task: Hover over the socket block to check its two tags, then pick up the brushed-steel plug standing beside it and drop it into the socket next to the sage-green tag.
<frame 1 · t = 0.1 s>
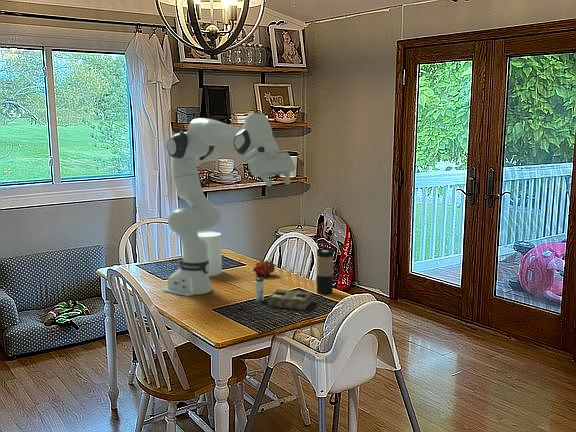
hand: (279, 184, 230), 54 cm above the table, tool tilted 30°, fingers open, 8 cm apart
socket block: (290, 303, 261), on the table
canister: (208, 272, 310), on the table
dragon fruit: (263, 276, 304), on the table
steel plug: (259, 300, 265), on the table
travel mug: (324, 293, 276), on the table
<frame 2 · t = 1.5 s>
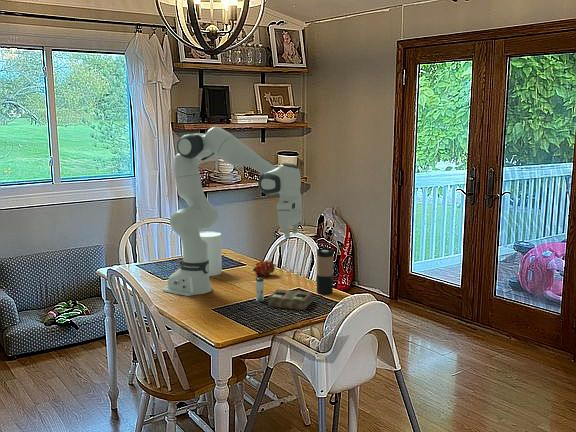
hand: (291, 235, 254), 30 cm above the table, tool pointing down, fingers open, 8 cm apart
nothing on the table moved.
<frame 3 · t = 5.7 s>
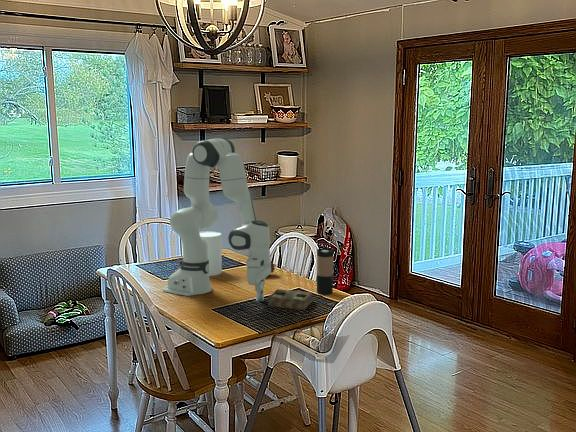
hand: (259, 289, 264), 5 cm above the table, tool pointing down, fingers closed on steel plug, 3 cm apart
steel plug: (259, 300, 265), on the table, touching gripper
everything else where it was.
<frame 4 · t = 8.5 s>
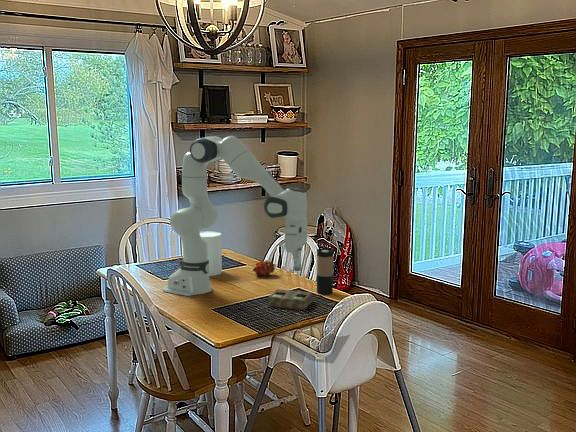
hand: (297, 258, 256), 20 cm above the table, tool pointing down, fingers closed on steel plug, 3 cm apart
steel plug: (297, 270, 257), point 15 cm above the table, touching gripper
everything else where it was.
when the fingers open (7 cm above the table, at t = 11.4 s): steel plug drops 1 cm, resting in socket block.
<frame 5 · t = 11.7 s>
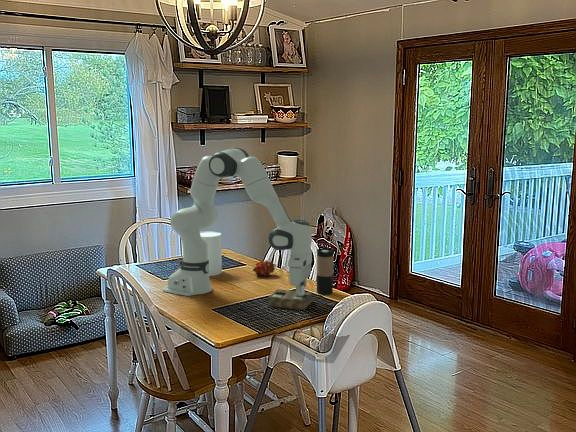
hand: (300, 290, 258), 7 cm above the table, tool pointing down, fingers open, 5 cm apart
steel plug: (300, 304, 259), resting in socket block
everything else where it was.
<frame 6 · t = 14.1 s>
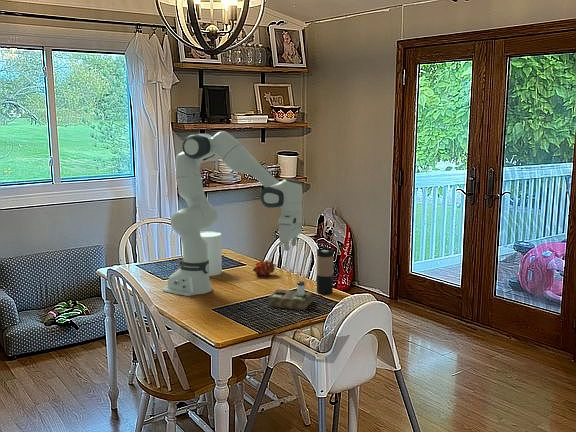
hand: (290, 248, 262), 23 cm above the table, tool pointing down, fingers open, 8 cm apart
nothing on the table moved.
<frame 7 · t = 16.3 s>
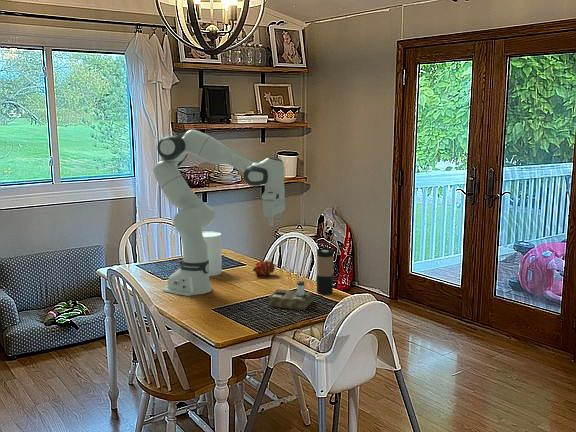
hand: (274, 223, 275), 31 cm above the table, tool pointing down, fingers open, 8 cm apart
nothing on the table moved.
at the end: steel plug 0.1 cm from the target spot on the socket block, point 0.0 cm above the socket block's base; steel plug tilted 1°; the gripper is holding nothing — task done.
